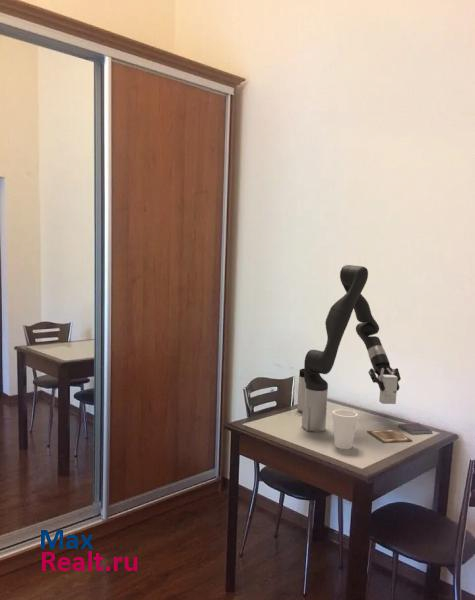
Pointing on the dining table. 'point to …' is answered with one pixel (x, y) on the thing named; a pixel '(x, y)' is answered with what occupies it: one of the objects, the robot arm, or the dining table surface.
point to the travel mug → (301, 391)
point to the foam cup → (344, 427)
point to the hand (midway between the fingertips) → (390, 389)
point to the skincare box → (389, 389)
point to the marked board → (389, 436)
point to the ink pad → (415, 428)
